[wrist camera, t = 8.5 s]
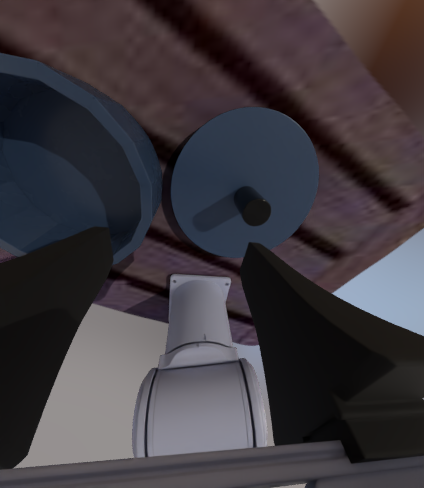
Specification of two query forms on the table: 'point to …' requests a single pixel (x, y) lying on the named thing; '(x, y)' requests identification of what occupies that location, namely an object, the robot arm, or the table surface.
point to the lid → (244, 181)
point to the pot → (70, 162)
